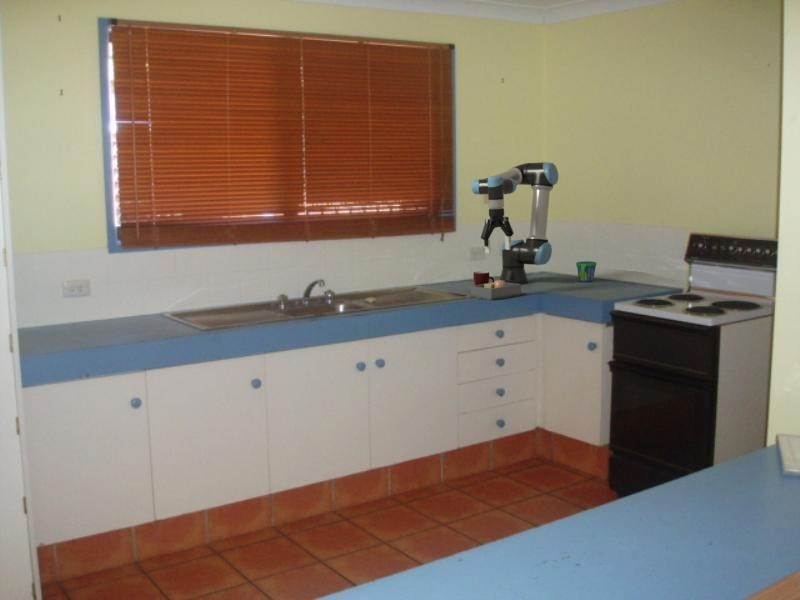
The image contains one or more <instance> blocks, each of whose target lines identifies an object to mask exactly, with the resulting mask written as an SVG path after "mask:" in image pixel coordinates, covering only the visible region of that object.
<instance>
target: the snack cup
mask: <svg viewBox="0 0 800 600" xmlns="http://www.w3.org/2000/svg"><path fill="white" fill-rule="evenodd" d="M575 264H576V268H577V275H578V279H579V282H581V283H591V282H593V281H594V279H595V274H596V267H597V262H596V261H591V260H589V261H587V260H585V261H577V262H576V263H575Z"/></svg>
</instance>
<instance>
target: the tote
mask: <svg viewBox="0 0 800 600" xmlns="http://www.w3.org/2000/svg"><path fill="white" fill-rule="evenodd" d="M469 290H470V297H471V296H473V297H482V298H485V299H487V301H495V300H501V299H502V300H503V299H507V298H513V297H519V296H522V284H516V283H507V282H505V286H504V287H498V288H492V289H490V288H484V284H481V285H475V284H474V285H471V286H470V287H469ZM485 299H484V300H485Z"/></svg>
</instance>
